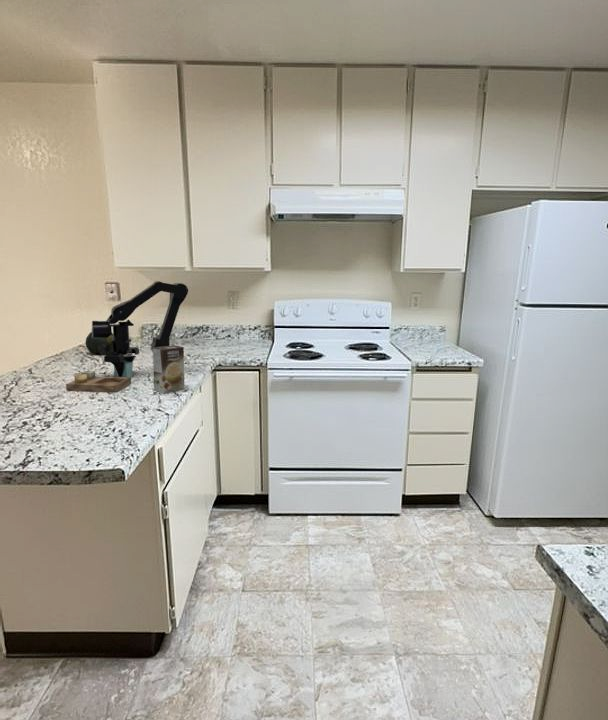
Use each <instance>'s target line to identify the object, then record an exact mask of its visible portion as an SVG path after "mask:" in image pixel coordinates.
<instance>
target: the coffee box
mask: <svg viewBox="0 0 608 720" xmlns="http://www.w3.org/2000/svg"><path fill="white" fill-rule="evenodd" d="M184 351H185V348H184V347H183V346H179V345H176V344H175V345H174V344H172V345H170V346H163V347H153V352H152V363H153V365H152V367H153V368H152V369H153V372H152V373H153V391H154V392H158V393H161V394H167V393H171V392H176V391H177V392H178V391H182V390H185V357H184V356H185V354H184V353H185V352H184Z"/></svg>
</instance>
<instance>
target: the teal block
mask: <svg viewBox="0 0 608 720" xmlns="http://www.w3.org/2000/svg"><path fill="white" fill-rule="evenodd" d="M113 372H114V373H113V374H114V377H119V375H118V373H117V370H116V368H115V366H114V365H113ZM122 377H128V378H132V377H133V363H132V362H126V364H125V368H124V372H123V375H122Z"/></svg>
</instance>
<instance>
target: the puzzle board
mask: <svg viewBox="0 0 608 720" xmlns="http://www.w3.org/2000/svg"><path fill="white" fill-rule="evenodd" d="M73 376H74V377H73V378H74V380H72V381H70V382H68V383H66V384H65V389H66V392H85V393H86V392H87V393H89V392H91V393H113V392H117V393H119V392H120V391H121V390H123V389H125V388H127V387H128V386H131V384H132V377H130V378H128V377H115V376H101V375H100V376H96V371H95V370H85V371H83V372H80V373H79V374H75V375H73Z"/></svg>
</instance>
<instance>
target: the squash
mask: <svg viewBox="0 0 608 720" xmlns="http://www.w3.org/2000/svg"><path fill="white" fill-rule="evenodd" d="M112 340H114V337H113V332H112V335H110V336H109V338H94V339H93V337H92V331H90V333H89V334H88V335H87V336H86V338H85V347H86V349H87V350H88V352H89V353H91V354H98V353H99V354H100V355H102V354H101V353H100V352H98V346H99V345H102V344H105V345H106V346H107V345H110V344H111V341H112ZM110 353H111V352H110ZM107 354H109V353H107ZM107 354H106V355H107Z"/></svg>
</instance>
